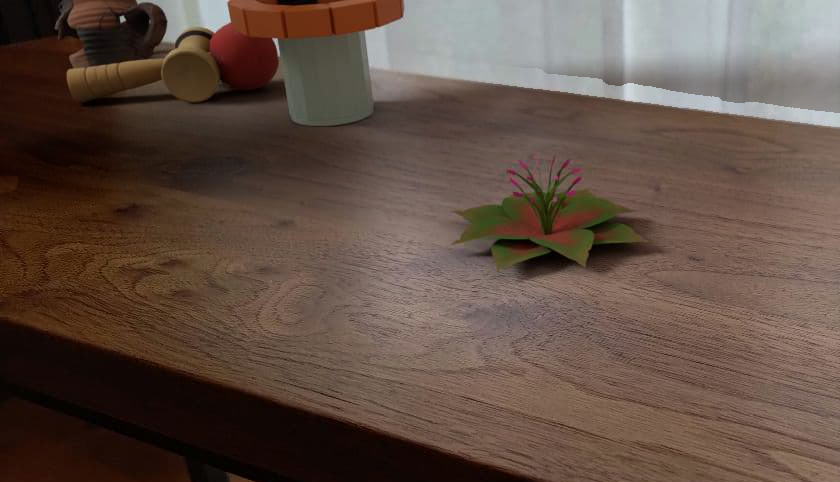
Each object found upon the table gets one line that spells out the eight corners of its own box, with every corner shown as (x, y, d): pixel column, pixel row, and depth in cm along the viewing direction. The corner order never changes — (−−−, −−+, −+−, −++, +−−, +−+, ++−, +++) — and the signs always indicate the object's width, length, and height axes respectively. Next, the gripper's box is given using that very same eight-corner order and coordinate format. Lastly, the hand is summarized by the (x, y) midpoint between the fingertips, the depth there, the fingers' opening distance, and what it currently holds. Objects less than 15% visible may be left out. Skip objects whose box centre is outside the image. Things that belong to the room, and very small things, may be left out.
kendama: (72, 131, 85) (279, 85, 86) (45, 57, 83) (258, 10, 84) (100, 121, 92) (291, 79, 93) (76, 52, 90) (271, 10, 91)
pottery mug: (44, 85, 96) (27, 2, 97) (108, 102, 106) (92, 26, 106) (151, 51, 94) (133, -34, 94) (207, 71, 103) (190, -6, 103)
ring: (272, 47, 71) (267, 18, 70) (210, 20, 80) (205, -6, 79) (433, 18, 77) (431, -9, 76) (359, -5, 87) (356, -29, 86)
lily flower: (601, 186, 65) (600, 118, 63) (686, 257, 55) (688, 178, 53) (422, 217, 61) (414, 146, 59) (478, 298, 51) (471, 216, 49)
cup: (310, 131, 78) (294, 28, 74) (278, 113, 83) (261, 15, 79) (388, 114, 81) (376, 14, 78) (352, 97, 86) (339, 2, 83)
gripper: (169, -238, 78) (216, 3, 87) (241, -248, 66) (287, 31, 75) (261, -241, 82) (297, -10, 90) (344, -252, 70) (376, 15, 79)
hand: (292, 7), depth 83 cm, fingers closed on ring, 2 cm apart
